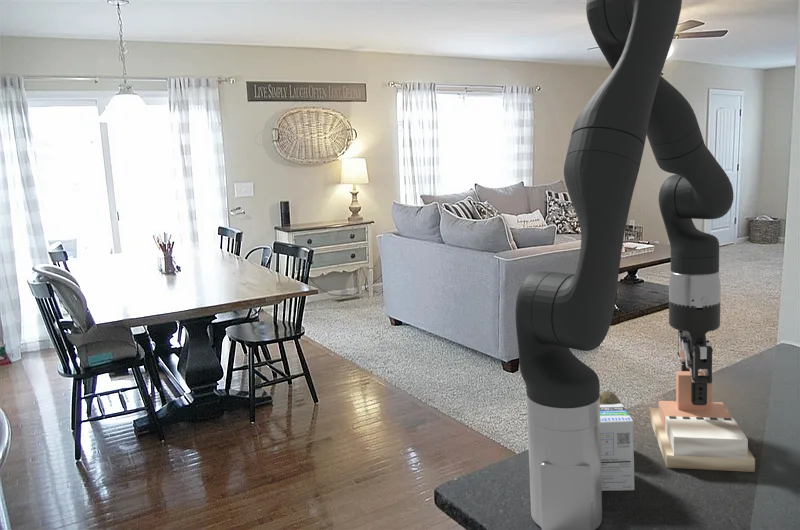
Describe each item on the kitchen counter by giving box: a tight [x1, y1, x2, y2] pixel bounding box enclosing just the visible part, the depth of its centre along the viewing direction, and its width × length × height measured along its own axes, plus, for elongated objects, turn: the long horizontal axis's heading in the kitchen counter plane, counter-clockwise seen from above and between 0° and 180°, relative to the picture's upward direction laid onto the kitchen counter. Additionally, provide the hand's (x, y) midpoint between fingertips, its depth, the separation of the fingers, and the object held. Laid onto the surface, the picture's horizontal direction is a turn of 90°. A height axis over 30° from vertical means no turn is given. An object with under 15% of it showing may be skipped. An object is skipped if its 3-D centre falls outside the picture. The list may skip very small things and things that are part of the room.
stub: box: [658, 370, 733, 429], centre depth 102 cm, size 6×10×8 cm, turn 76°
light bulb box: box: [600, 403, 635, 492], centre depth 91 cm, size 11×7×11 cm, turn 84°
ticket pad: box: [649, 407, 756, 473], centre depth 101 cm, size 18×12×5 cm, turn 166°
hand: (693, 394), depth 103 cm, fingers open, 7 cm apart
